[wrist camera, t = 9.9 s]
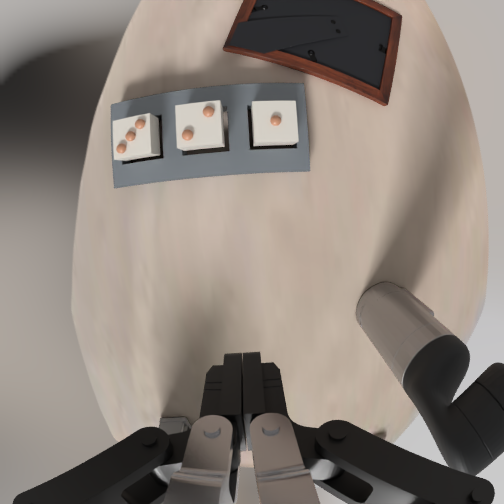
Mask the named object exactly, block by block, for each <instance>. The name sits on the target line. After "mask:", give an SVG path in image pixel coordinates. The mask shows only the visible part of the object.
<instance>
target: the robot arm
mask: <svg viewBox="0 0 504 504" xmlns="http://www.w3.org/2000/svg"><path fill="white" fill-rule="evenodd" d="M356 318H357V321H358V323H359V325H360V326H361V328H362V329H363V330H364V332H365V333H366V335H367V336H368V338H369V339H370V340H371V342H372V343H373V345H374V346H375V348H376V349H377V350H378V352H379V353H380V355H381V356H382V358H383V359H384V361H385V362H386V363H387V365H388V366H389V368H390V369H391V371H392V372H393V374H394V375H395V377H396V378H397V379H398V381H399V382H400V384H401V385H402V387H403V388H404V390H405V392H406V393H407V395H408V396H409V397H410V399H411V400H412V402H413V403H414V405H415V406H416V408H417V409H418V411H419V413H420V414H421V416H422V417H423V419H424V421H425V423H426V425H427V426H428V428H429V430H430V432H431V434H432V436H433V438H434V440H435V442H436V444H437V446H438V448H439V450H440V452H441V454H442V456H443V457H444V460H445V461H446V463H447V464H448V466H449V467H447V466H444V465H441V464H439V463H436V462H433V461H431V460H429V459H426V458H424V457H421V456H419V455H416V454H414V453H412V452H409V451H407V450H405V449H402V448H400V447H398V446H396V445H394V444H392V443H389V442H387V441H385V440H383V439H381V438H379V437H377V436H375V435H373V434H371V433H369V432H367V431H365V430H363V429H361V428H359V427H357V426H355V425H353V424H351V423H349V422H347V421H343V420H332V421H329V422H326V423H324V424H323V425H321V426H320V427H319V428H312V427H304V426H301V425H298V424H296V423H295V422H293V421H292V420H291V419H290V418H289V416H288V413H287V407H286V402H285V396H284V391H283V385H282V380H281V374H280V369H279V368H278V367H277V366H276V365H275V364H274V363H273V362H272V363H261V357H260V352H249V353H243V360H242V353H231V354H224V363H223V365H217V366H212V367H211V368H210V370H209V371H208V372H207V374H206V380H205V386H204V393H203V399H202V406H201V412H200V418H199V419H198V420H197V421H196V422H195V423H194V424H193V426H192V428H191V429H189V430H187V431H184V432H180V433H175V434H169V435H168V434H167V433H166V432H165V431H164V430H162V429H160V428H157V427H145V428H142V429H139V430H138V431H136V432H134V433H133V434H131V435H130V436H128V437H126V438H125V439H123V440H122V441H120V442H118V443H117V444H115V445H113V446H112V447H110V448H108V449H107V450H105V451H103V452H101V453H100V454H98V455H96V456H95V457H93V458H91V459H89V460H87V461H86V462H84V463H82V464H80V465H79V466H76V467H75V468H73V469H71V470H69V471H67V472H65V473H63V474H61V475H59V476H57V477H55V478H53V479H51V480H49V481H47V482H45V483H43V484H41V485H38V486H36V487H34V488H32V489H30V490H27V491H25V492H23V493H21V494H19V495H17V496H16V498H15V499H14V501H13V504H161V503H162V502H163V504H236V503H237V493H238V482H239V472H240V451H246V438H247V445H248V451H250V450H252V453H253V461H254V469H255V476H256V482H257V488H258V495H259V501H260V504H320V501H319V498H318V495H317V492H316V489H315V485H314V483H315V484H317V485H318V486H320V487H321V488H323V489H324V490H326V491H327V492H329V493H331V494H332V495H334V496H336V497H337V498H339V499H341V500H342V501H344V502H346V503H348V504H491V503H492V501H493V499H494V494H495V492H494V487H493V485H492V484H491V483H490V482H489V481H488V480H486V479H483V478H480V477H476V476H475V475H477V474H478V473H479V472H481V471H482V470H483V469H484V468H486V467H487V466H488V465H489V464H491V463H492V462H493V461H494V460H495V459H496V458H497V457H498V456H499V455H501V454H502V453H503V452H504V364H502V363H494V364H492V365H491V366H490V367H488V368H487V370H485V371H484V372H483V373H482V374H481V375H480V376H479V377H478V378H477V379H476V380H475V382H473V383H472V384H471V385H470V386H469V387H468V388H467V389H466V390H465V391H464V392H463V393H462V394H461V395H460V396H459V397H458V398H457V399H456V400H454V401H453V403H452V400H453V397H454V395H455V393H456V391H457V389H458V387H459V385H460V384H461V382H462V380H463V379H464V376H465V374H466V372H467V370H468V367H469V362H470V354H469V350H468V348H467V346H466V345H465V344H464V343H463V342H462V341H461V340H460V339H459V338H457V337H456V336H455V335H454V334H453V333H452V332H451V331H450V330H449V329H447V328H446V327H445V326H444V325H443V324H442V323H440V322H439V321H438V320H437V319H436V318H435V317H434V312H433V311H432V310H431V309H430V308H429V307H427V306H426V305H425V304H424V303H422V302H421V301H420V300H419V299H418V298H416V297H415V296H414V295H413V294H411V293H410V292H409V291H408V290H406V289H405V288H399V287H398V286H396V285H395V284H393V283H389V282H384V283H379V284H376V285H374V286H373V287H371V288H370V289H368V290H367V291H366V292H365V293H364V294H363V296H362V297H361V299H360V300H359V303H358V305H357V309H356Z"/></svg>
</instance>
